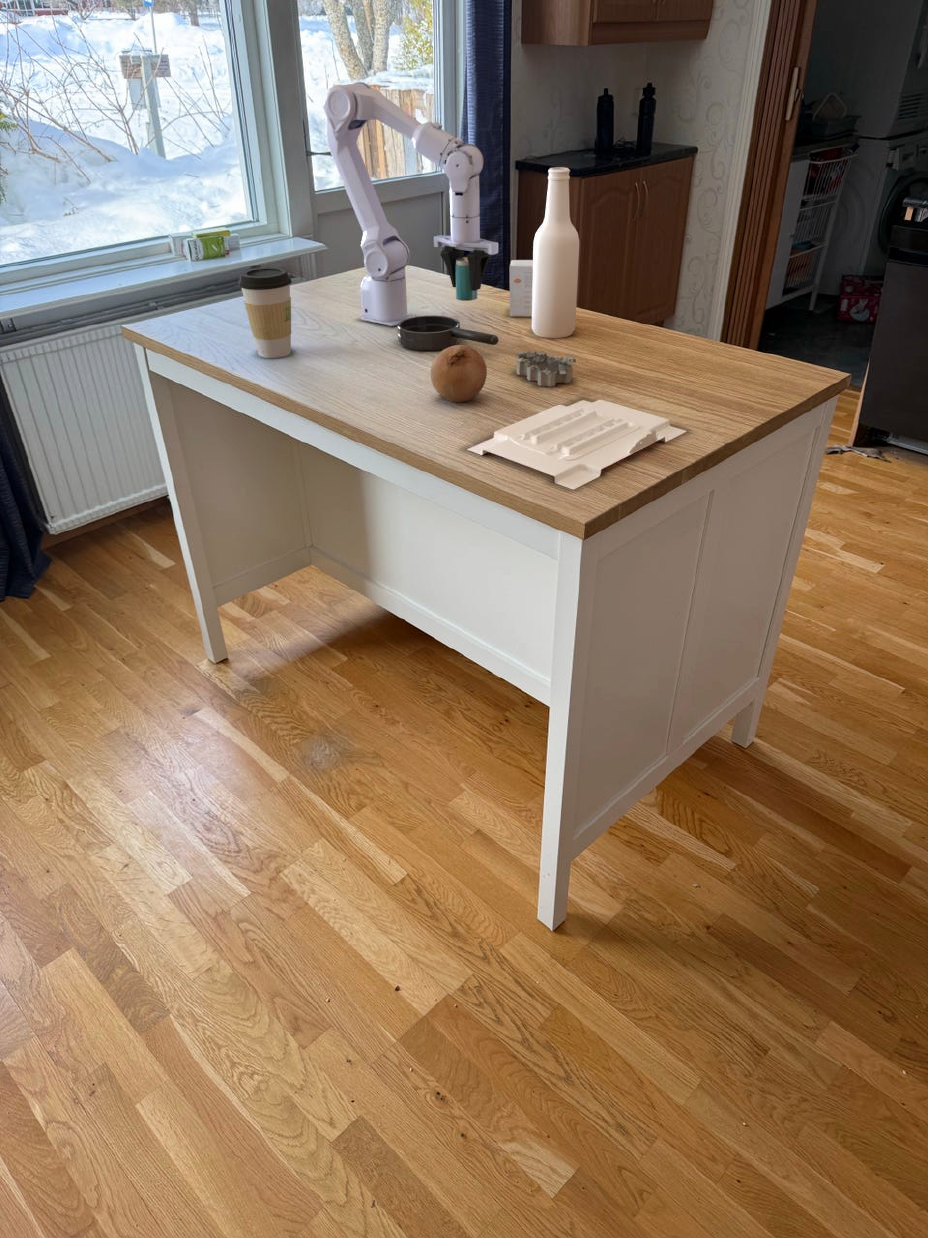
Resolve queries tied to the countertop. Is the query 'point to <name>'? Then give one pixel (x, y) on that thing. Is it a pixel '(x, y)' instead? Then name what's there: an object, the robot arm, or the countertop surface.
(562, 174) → the alcohol
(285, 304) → the coffee cup
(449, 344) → the pan
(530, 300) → the small box
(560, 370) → the egg carton
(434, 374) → the onion
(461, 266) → the salt shaker
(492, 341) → the pan handle
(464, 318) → the countertop surface
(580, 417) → the tray
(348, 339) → the countertop surface
